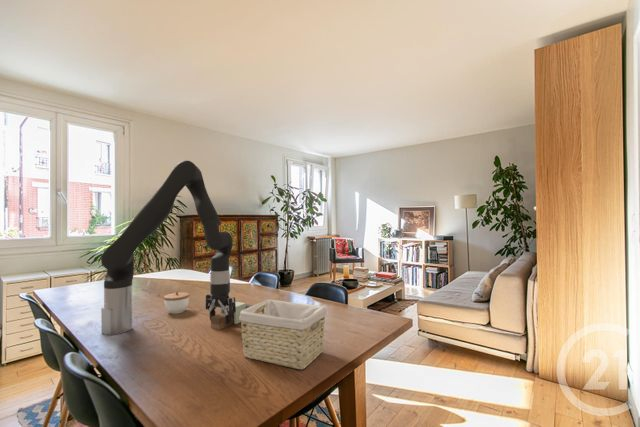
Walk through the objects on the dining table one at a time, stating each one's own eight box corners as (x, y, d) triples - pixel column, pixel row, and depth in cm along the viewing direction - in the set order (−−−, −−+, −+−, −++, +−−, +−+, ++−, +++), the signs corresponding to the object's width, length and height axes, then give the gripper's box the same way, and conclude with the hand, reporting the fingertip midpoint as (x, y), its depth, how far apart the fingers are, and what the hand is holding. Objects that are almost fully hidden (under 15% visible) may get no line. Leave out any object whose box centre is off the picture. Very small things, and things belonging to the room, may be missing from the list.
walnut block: (219, 330, 118) (219, 318, 118) (211, 328, 120) (210, 317, 120) (240, 321, 129) (240, 310, 129) (232, 319, 131) (232, 308, 131)
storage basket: (237, 357, 95) (236, 310, 95) (268, 338, 109) (267, 297, 109) (304, 375, 84) (303, 321, 84) (328, 351, 99) (328, 305, 99)
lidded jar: (182, 315, 136) (182, 294, 136) (159, 315, 136) (159, 294, 136) (193, 308, 147) (193, 288, 147) (171, 308, 147) (171, 288, 147)
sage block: (235, 324, 124) (235, 306, 124) (220, 321, 127) (220, 304, 128) (245, 319, 129) (245, 303, 129) (230, 316, 133) (230, 300, 133)
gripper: (200, 281, 122) (200, 322, 122) (226, 285, 115) (226, 327, 115) (214, 278, 129) (214, 316, 128) (240, 281, 122) (240, 321, 122)
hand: (220, 322), depth 122 cm, fingers open, 8 cm apart
